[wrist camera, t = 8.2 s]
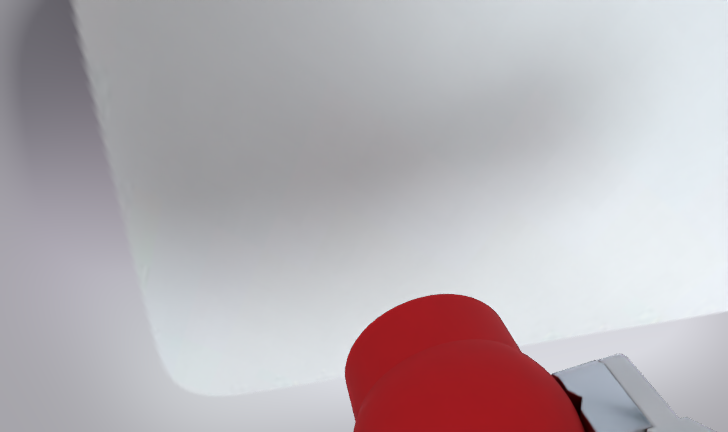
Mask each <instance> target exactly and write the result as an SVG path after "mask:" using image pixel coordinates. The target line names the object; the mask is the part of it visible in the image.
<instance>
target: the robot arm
mask: <svg viewBox="0 0 728 432" xmlns="http://www.w3.org/2000/svg"><path fill="white" fill-rule="evenodd" d="M551 376H552V377H553V378H554V379H555V380H556V381H557V382H558V384H559V385H560V386H561V388H562V389H563V390H564V392H565V393H566V394H567V395H568V397H569V399H570V400H571V402H572V404H573V406H574V407H575V409H576V411H577V413H578V415H579V417H580V420H581V423H582V425H583V428H584V430H585V432H717V431H714V430H713V429H711V428H708V427H706V426H704V425H702V424H700V423H698V422H696V421H694V420H692V419H690V418H688V417H685V418H679V417H678V416H677V415H676V414H675V412H674V411H673V410H672V409H671V408H670V407H669V405H668V404H667V403H666V402H665V401H664V400H663V398H662V397H661V396H660V395H659V394H658V393H657V391H656V390H655V389H654V388H653V387H652V385H651V384H650V383H649V382H648V381H647V379H646V378H645V377H644V376H643V375H642V374H641V372H640V371H639V370H638V369H637V368H636V366H635V365H634V364H633V363H632V362H631V361H630V359H629V358H628V357H627V356H625V355H623V354H615V355H612V356H609V357H606V358H603V359H600V360H597V361H596V360H594V361H591V362H588V363H584V364H581V365H578V366H575V367H572V368H569V369H565V370H562V371H559V372H556V373H553V374H552V375H551Z"/></svg>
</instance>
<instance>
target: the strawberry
mask: <svg viewBox="0 0 728 432" xmlns="http://www.w3.org/2000/svg"><path fill="white" fill-rule="evenodd" d="M345 379H346V384H347V388H348V392H349V396H350V401H351V404H352V408H353V413H354V417H355V421H356V423H355V427H354V432H585V430H584V428H583V425H582V423H581V420H580V417H579V415H578V413H577V411H576V409H575V407H574V406H573V404H572V402H571V400H570V399H569V397H568V395H567V394H566V393H565V392H564V390H563V389H562V388H561V386H560V385H559V384H558V382H557V381H556V380H555V379H554V378H553V377H552V376H551V375H550V374H549V373H548V372H547V371H546V370H545V369H544V368H543V367H542V366H540V365H539V364H538V363H537V362H535V361H534V360H533V359H531V358H530V357H529V356H527V355H525V354H524V353H522V352H521V351H520V349H519V347H518V346H517V344H516V342H515V341H514V339H513V338H512V336H511V334H510V333H509V331H508V330H507V328H506V326H505V325H504V323H503V322H502V320H501V318H500V317H499V316H498V314H497V313H496V312H495V311H494V310H493V309H492V308H491V307H489V306H488V305H486V304H485V303H483V302H481V301H479V300H477V299H474V298H472V297H468V296H463V295H456V294H438V295H430V296H425V297H421V298H417V299H414V300H411V301H408V302H405V303H403V304H401V305H398V306H396V307H394V308H393V309H391V310H389V311H387V312H386V313H384V314H383V315H381V316H380V317H378V318H377V319H376V320H375V321H373V322H372V323H371V324H370V325H369V326H368V327H367V328H366V329H365V330H364V331H363V332H362V333H361V334H360V336H359V337H358V338H357V340H356V341H355V343H354V344H353V346H352V348H351V350H350V353H349V355H348V358H347V362H346V367H345Z"/></svg>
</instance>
